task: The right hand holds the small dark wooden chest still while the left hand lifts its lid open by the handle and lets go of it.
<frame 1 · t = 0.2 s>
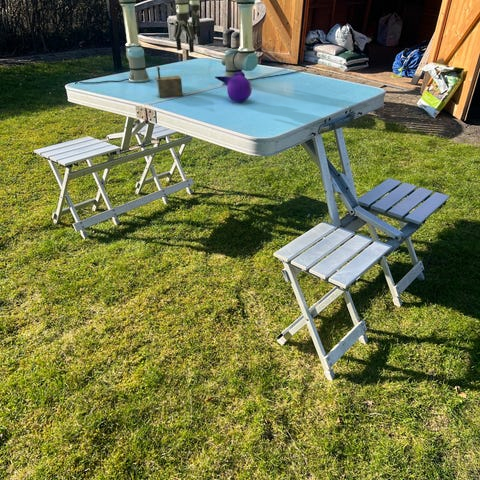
left hand: (196, 35, 349), 28 cm above the table, tool pointing down, fingers open, 13 cm apart
right hand: (185, 51, 276), 28 cm above the table, tool pointing down, fingers open, 13 cm apart
lid: (167, 72, 289), point 14 cm above the table, hinge at 0.0°
chest: (170, 95, 296), on the table
toy: (235, 100, 281), on the table
teapot: (233, 71, 369), on the table
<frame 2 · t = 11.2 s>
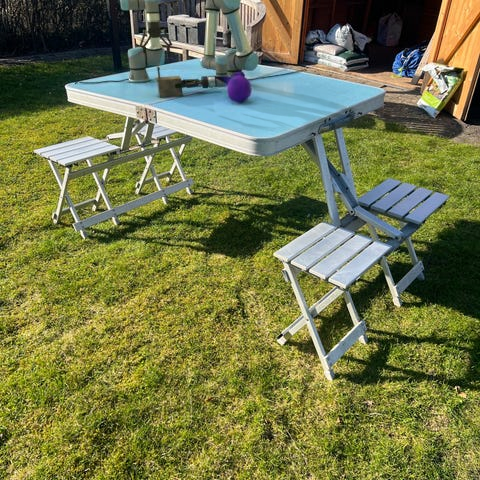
left hand: (157, 58, 283), 23 cm above the table, tool pointing down, fingers open, 13 cm apart
right hand: (174, 84, 293), 7 cm above the table, tool horizontal, fingers closed on chest, 9 cm apart
chest: (170, 95, 296), on the table, touching right hand
everything else where it was.
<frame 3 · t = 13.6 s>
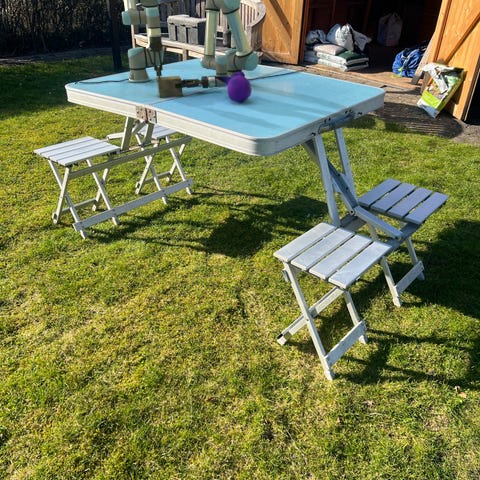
left hand: (159, 75, 288), 13 cm above the table, tool pointing down, fingers closed on lid, 1 cm apart
right hand: (174, 84, 293), 7 cm above the table, tool horizontal, fingers closed on chest, 9 cm apart
lid: (167, 72, 289), point 14 cm above the table, hinge at -0.1°, touching left hand
chest: (170, 95, 296), on the table, touching right hand
everything else where it was.
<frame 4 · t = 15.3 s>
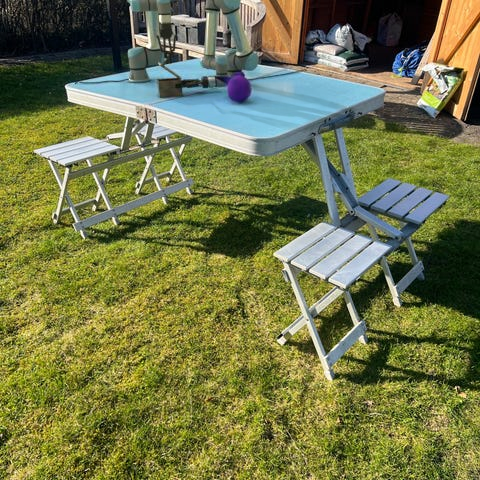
left hand: (168, 63, 286), 20 cm above the table, tool pointing down, fingers closed on lid, 1 cm apart
right hand: (174, 84, 293), 7 cm above the table, tool horizontal, fingers closed on chest, 9 cm apart
lid: (172, 66, 288), point 18 cm above the table, hinge at 36.7°, touching left hand
chest: (170, 95, 296), on the table, touching right hand
everything else where it was.
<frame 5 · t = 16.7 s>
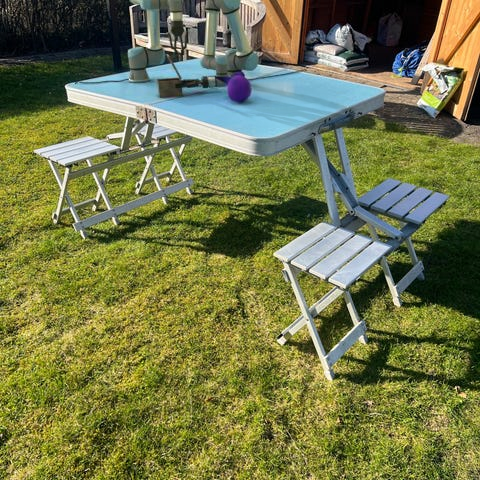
left hand: (179, 60, 287), 21 cm above the table, tool pointing down, fingers open, 2 cm apart
right hand: (174, 84, 293), 7 cm above the table, tool horizontal, fingers closed on chest, 9 cm apart
lid: (178, 63, 288), point 19 cm above the table, hinge at 64.3°
chest: (170, 95, 296), on the table, touching right hand
everything else where it was.
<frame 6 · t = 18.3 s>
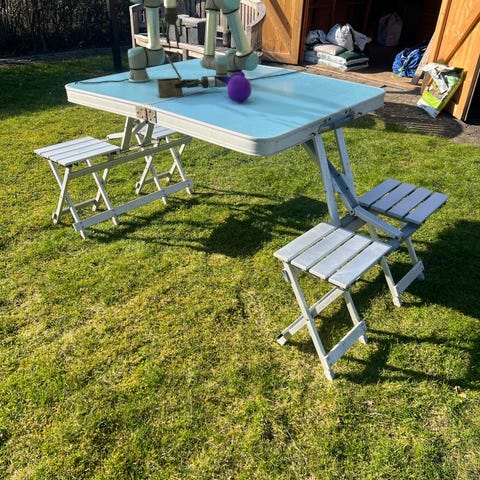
left hand: (173, 48, 283), 28 cm above the table, tool pointing down, fingers open, 4 cm apart
right hand: (174, 84, 293), 7 cm above the table, tool horizontal, fingers closed on chest, 9 cm apart
lid: (178, 63, 288), point 19 cm above the table, hinge at 62.5°
chest: (170, 95, 296), on the table, touching right hand
everything else where it was.
when the right hand's fingers open (7 cm above the table, at t = 20.8 s): chest stays where it is, on the table.
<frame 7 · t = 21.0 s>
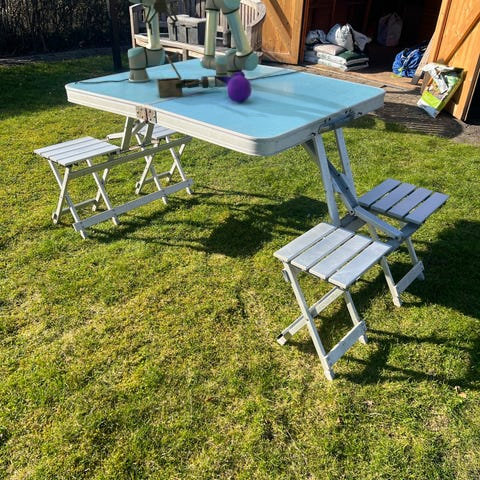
left hand: (162, 34, 277), 37 cm above the table, tool pointing down, fingers open, 13 cm apart
right hand: (174, 84, 293), 7 cm above the table, tool horizontal, fingers open, 11 cm apart
chest: (170, 95, 296), on the table
everything else where it was.
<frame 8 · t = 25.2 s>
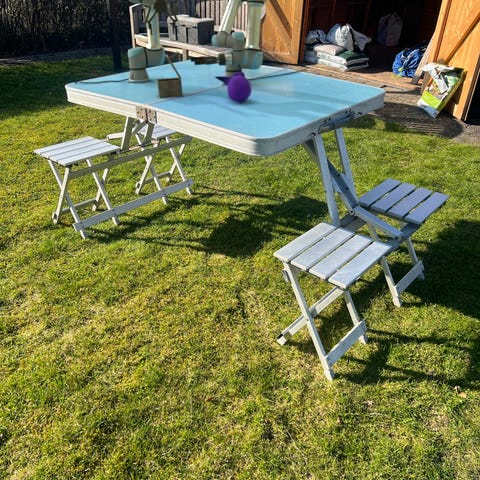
left hand: (162, 34, 277), 37 cm above the table, tool pointing down, fingers open, 13 cm apart
right hand: (192, 61, 289), 20 cm above the table, tool horizontal, fingers open, 13 cm apart
nothing on the table moved.
at the end: lid at +62° (first picture: +0°); the left hand is holding nothing; the right hand is holding nothing; chest tilted 0°; chest never tilted more than 1° during the clip; chest moved 0.0 cm from its start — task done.
